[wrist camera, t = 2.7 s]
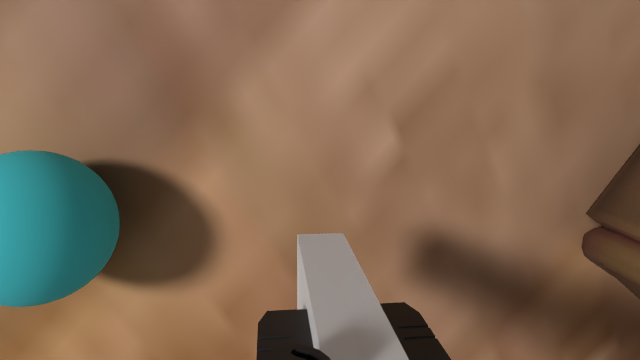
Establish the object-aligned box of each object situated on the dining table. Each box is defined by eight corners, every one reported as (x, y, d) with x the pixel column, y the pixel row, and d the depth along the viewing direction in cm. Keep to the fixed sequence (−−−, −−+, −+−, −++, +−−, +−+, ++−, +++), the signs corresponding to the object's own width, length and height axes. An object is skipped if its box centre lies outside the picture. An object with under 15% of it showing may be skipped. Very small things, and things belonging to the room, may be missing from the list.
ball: (132, 140, 18) (69, 166, 13) (143, 262, 20) (91, 335, 14) (-10, 140, 18) (-147, 168, 12) (11, 266, 19) (-101, 346, 13)
